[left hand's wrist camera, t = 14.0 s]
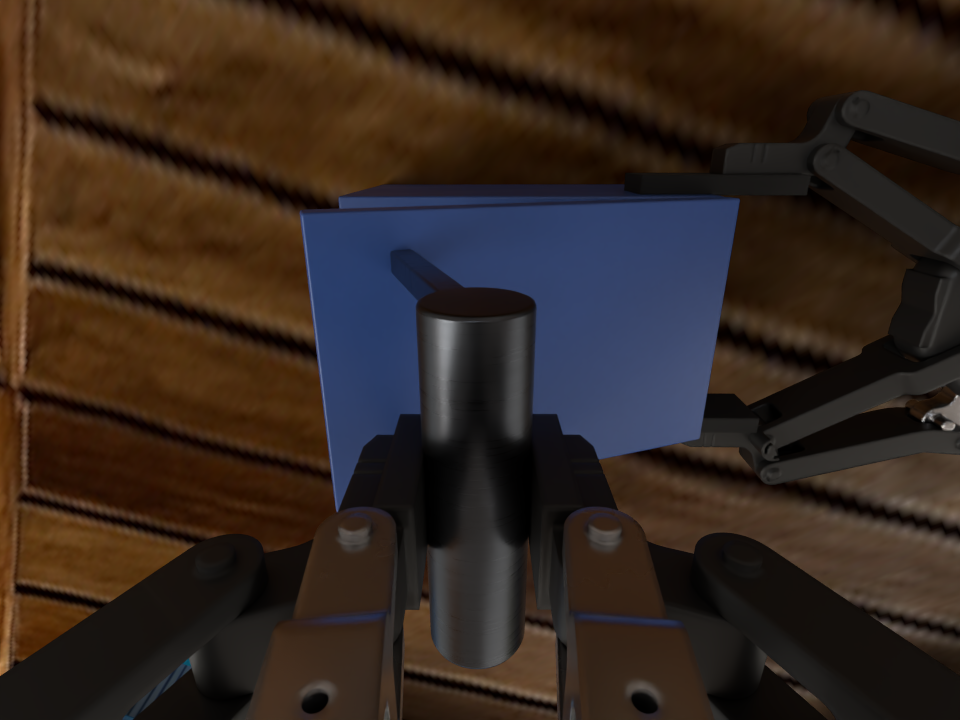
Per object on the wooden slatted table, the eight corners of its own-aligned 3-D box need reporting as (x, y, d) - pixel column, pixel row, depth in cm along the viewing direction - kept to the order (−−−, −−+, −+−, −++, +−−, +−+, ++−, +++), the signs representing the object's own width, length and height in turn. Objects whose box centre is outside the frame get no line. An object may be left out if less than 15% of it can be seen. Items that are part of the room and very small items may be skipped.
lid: (334, 496, 19) (371, 741, 11) (299, 209, 15) (317, 266, 7) (684, 428, 23) (886, 566, 16) (720, 196, 20) (1007, 222, 12)
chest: (393, 355, 32) (359, 425, 24) (382, 184, 28) (337, 196, 20) (636, 357, 32) (687, 427, 23) (656, 184, 28) (724, 196, 20)
